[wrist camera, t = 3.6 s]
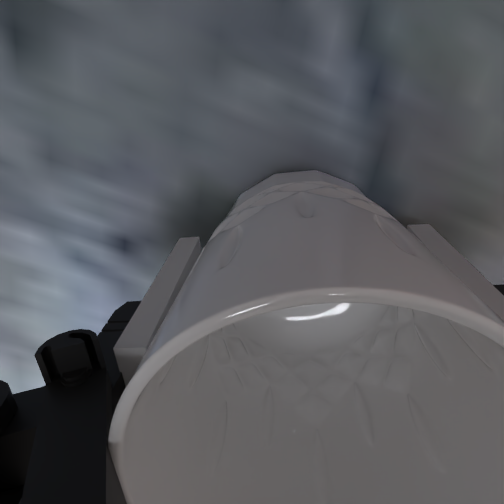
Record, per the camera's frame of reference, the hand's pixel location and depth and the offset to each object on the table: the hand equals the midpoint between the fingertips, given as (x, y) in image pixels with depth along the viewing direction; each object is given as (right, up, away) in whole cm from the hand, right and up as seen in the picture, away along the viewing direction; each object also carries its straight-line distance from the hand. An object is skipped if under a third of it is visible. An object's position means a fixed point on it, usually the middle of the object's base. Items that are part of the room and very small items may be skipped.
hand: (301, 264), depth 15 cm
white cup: (0, +1, +1) cm, 1 cm away
